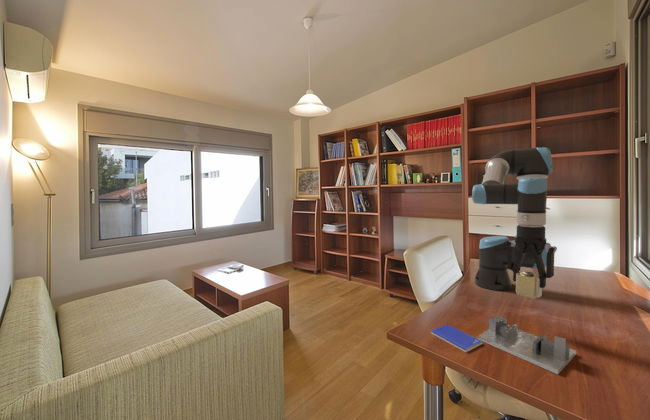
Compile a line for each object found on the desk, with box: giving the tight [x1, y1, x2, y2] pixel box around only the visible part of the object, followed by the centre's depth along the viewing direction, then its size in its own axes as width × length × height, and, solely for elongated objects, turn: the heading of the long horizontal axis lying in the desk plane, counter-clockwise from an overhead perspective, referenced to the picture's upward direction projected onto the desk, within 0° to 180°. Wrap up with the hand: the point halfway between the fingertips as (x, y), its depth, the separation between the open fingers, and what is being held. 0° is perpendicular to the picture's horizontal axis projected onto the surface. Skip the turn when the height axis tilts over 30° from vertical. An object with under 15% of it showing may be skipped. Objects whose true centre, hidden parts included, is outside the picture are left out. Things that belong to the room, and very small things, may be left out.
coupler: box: [515, 271, 539, 300], centre depth 91 cm, size 5×5×8 cm
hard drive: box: [430, 324, 483, 353], centre depth 88 cm, size 2×8×12 cm
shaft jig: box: [477, 315, 577, 375], centre depth 82 cm, size 20×14×5 cm
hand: (528, 293), depth 92 cm, fingers closed on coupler, 5 cm apart
